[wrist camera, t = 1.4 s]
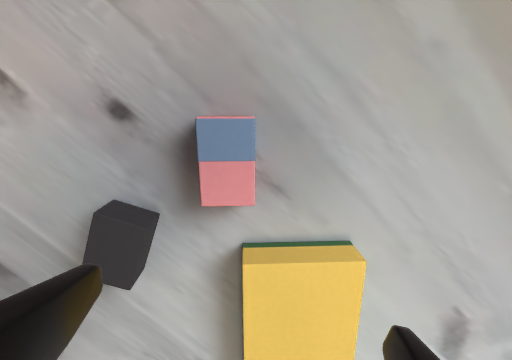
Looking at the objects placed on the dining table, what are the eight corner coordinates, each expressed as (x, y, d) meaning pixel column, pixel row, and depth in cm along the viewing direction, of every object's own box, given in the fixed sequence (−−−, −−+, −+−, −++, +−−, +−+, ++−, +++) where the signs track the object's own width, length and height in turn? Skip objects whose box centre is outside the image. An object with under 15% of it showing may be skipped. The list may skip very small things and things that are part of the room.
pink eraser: (253, 193, 22) (255, 206, 19) (206, 194, 21) (200, 207, 18) (253, 116, 20) (255, 116, 17) (202, 116, 20) (194, 116, 17)
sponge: (335, 371, 27) (348, 407, 24) (244, 376, 27) (244, 412, 24) (349, 240, 23) (367, 261, 20) (242, 242, 23) (242, 264, 19)
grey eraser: (144, 268, 23) (129, 291, 20) (100, 256, 22) (78, 277, 20) (160, 213, 22) (147, 228, 19) (113, 199, 21) (93, 212, 18)
